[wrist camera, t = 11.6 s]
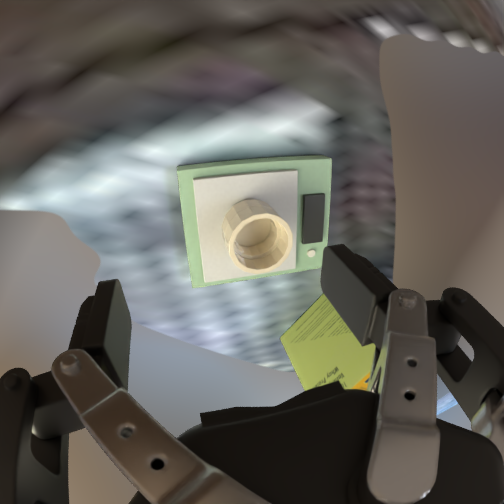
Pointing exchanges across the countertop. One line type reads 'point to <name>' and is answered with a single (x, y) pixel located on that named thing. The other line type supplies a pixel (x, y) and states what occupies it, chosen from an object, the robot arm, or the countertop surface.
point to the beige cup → (256, 236)
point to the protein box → (327, 349)
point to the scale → (261, 188)
